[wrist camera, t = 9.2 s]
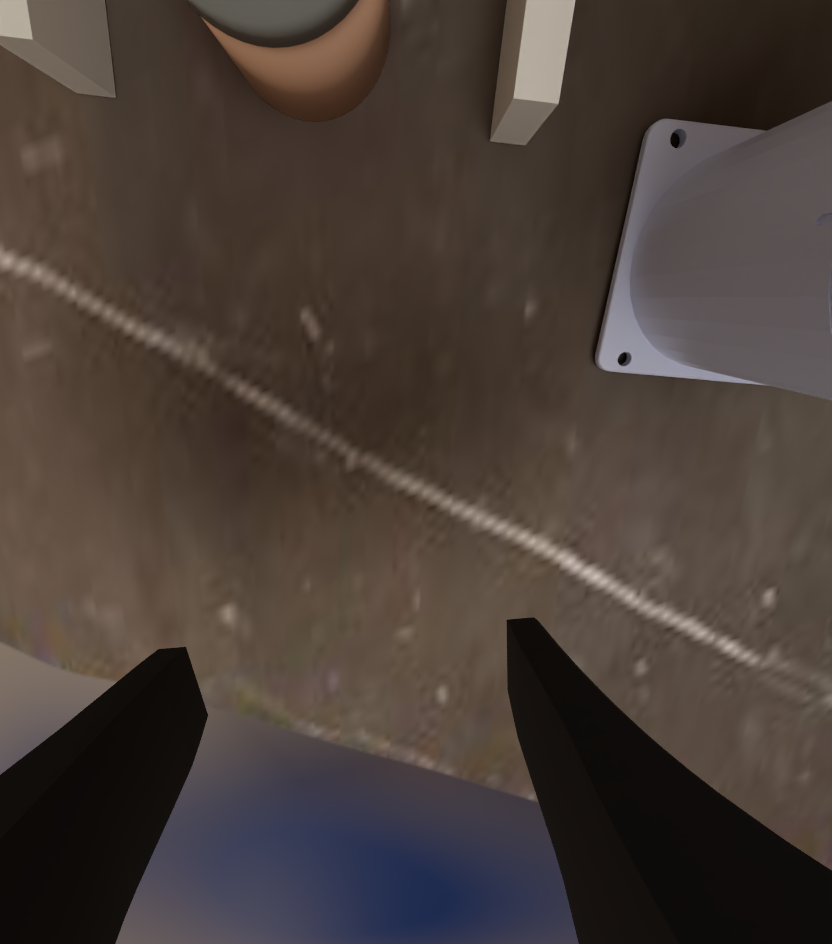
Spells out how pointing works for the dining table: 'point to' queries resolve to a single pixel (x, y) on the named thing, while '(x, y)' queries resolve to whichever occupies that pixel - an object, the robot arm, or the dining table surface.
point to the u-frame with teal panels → (91, 72)
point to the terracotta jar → (303, 50)
